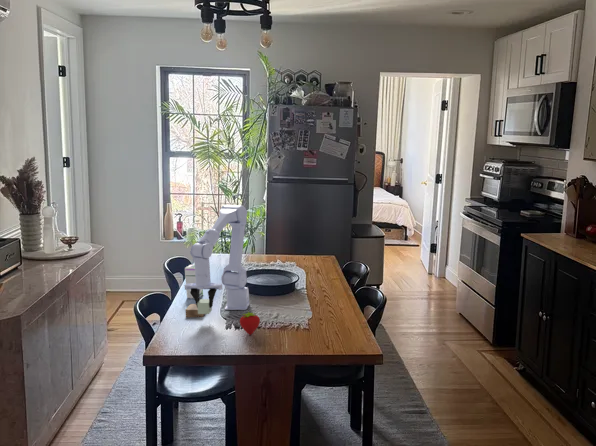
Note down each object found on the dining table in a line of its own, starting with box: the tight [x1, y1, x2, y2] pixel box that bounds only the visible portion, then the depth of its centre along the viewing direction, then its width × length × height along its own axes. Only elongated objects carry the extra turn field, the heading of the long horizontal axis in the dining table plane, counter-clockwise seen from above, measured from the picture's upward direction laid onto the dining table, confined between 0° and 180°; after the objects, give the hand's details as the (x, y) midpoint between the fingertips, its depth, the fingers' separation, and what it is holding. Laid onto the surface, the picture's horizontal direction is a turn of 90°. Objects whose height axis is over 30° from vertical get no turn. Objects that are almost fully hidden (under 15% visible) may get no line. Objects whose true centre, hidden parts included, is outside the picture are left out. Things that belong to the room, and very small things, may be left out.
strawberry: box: [239, 311, 261, 336], centre depth 190 cm, size 6×8×10 cm
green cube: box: [197, 298, 213, 315], centre depth 202 cm, size 4×4×4 cm
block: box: [185, 303, 206, 318], centre depth 214 cm, size 7×7×4 cm
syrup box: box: [184, 264, 204, 299], centre depth 236 cm, size 6×6×14 cm
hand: (204, 306), depth 203 cm, fingers closed on green cube, 4 cm apart
